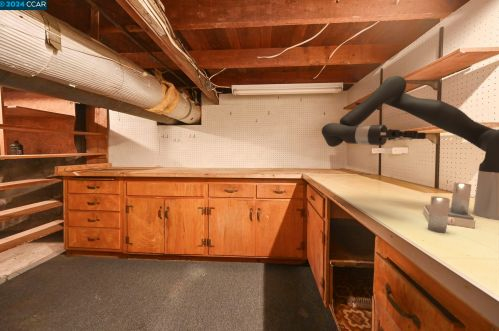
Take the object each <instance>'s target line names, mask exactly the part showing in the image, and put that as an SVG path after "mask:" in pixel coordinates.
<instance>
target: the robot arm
mask: <svg viewBox="0 0 499 331" xmlns="http://www.w3.org/2000/svg"><path fill="white" fill-rule="evenodd" d="M406 89H407V81H406V79H405V78H404V77H403V76H400V75H392V76H389V77H387V78H386V79H384V80H383V82H382V83H381V85H379V86H378V88H376V89H375V90H374V92H371V94H369V96H368V97H367V98H365V99H364V100H363V101H362V102H360V103H359V104H358V105H356V106H355V107H354V108H353V109H352V110H350V111H349V112H347V113H346V114H344V115H343V116H342V117H341V118H339V123H336V122H329V123H326V124H325V125H323V127H322V128H321V135H322V136H323V138H324V140H325V142H326V144H327V146H329V147H332V148H334V147H338V146H340V145H342V143H343V142H344V143H346V144H350V145H351V144H354V145H355V144H356V145H363V146H364V145H365V146H366V145H367V146H384V145H385V144H386V143H387V141H393V142H394V141H406V140H410V141H412V140H426V137H427V133H426V132H419V131H418V130H403V129H401V130H400V129H399V128H398V129H392V128H389V129H388V127H387V126H386V124H365V125H361V124H362V123H363V122H365V121H366V120H367V119H368V118H369V117H370V116H371V115H372V114H373V113H374V112H375V111H376V110H378V109H379V108H380V107H381V106H382V105H383V104H384V105H387V106H390V107H392V108H395V109H398V110H401V111H403V112H405V113H408V114H409V115H411V116H414V117H415V118H418V119H420V120H422V121H424V122H426V123H428V124H430V125H432V126H433V127H435V128H438V129H440V130H443V131H445V132H447V133H449V134H452V135H455V136H457V137H460V138H461V139H463V140H465V141H467V142H469V143H471V144H472V145H474V146H475V147H476V148H478V149H479V150H482V151H483V152H485V153H484V159H483V161H481V162H480V164H479V166H478V171H477V172H478V174H477V180H476V189H475V196H474V205H473V211H472V214H473V215H474V216H477V217H481V218H485V219H490V220H496V221H497V220H498V221H499V129H495V128H492V127H489V126H486V125H483V124H482V123H480V122H477V121H475V120H474V119H472V118H470V117H469V116H468V115H467V114H466V113H465V112H464V111H462V110H461V109H459V108H457V107H456V106H454V105H451V104H449V103H447V102H445V101H443V100H438V99H433V98H430V99H429V98H422V97H421V98H420V97H416V96H413V95H410V94H408V93H406V92H405V91H406Z"/></svg>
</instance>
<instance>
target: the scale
mask: <svg viewBox="0 0 499 331" xmlns="http://www.w3.org/2000/svg"><path fill="white" fill-rule="evenodd" d="M429 211H430V204H429V205H428V204H426V205H425V206H423V211H422V213H423V216H424V218H425V219H426V221H427V222H428V220H429ZM476 223H477V222H476V220H475V218H474V216H472V215H471V214H469V213H468V215H461V214H455V213H452V212H451V207H449V211H448V220H447V225H449V226H450V225H451V226H457V227H462V228H463V227H464V228H468V229H475V227H476Z"/></svg>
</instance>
